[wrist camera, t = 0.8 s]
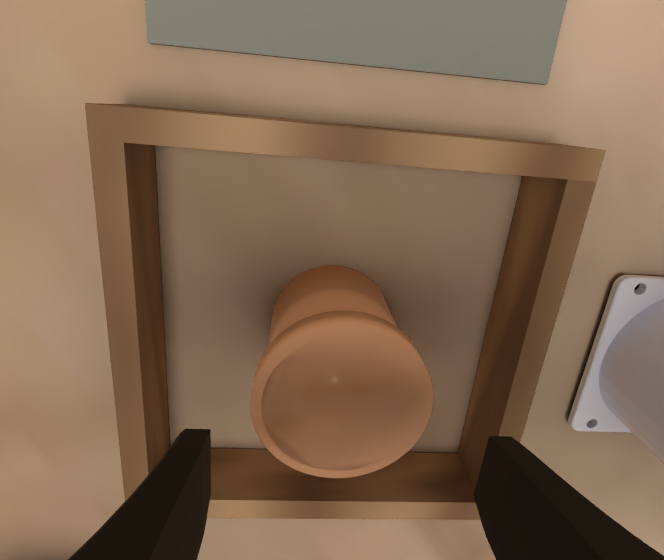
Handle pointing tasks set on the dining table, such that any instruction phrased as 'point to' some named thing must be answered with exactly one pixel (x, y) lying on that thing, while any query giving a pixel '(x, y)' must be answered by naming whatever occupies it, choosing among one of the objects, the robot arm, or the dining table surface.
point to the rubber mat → (374, 32)
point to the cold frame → (345, 145)
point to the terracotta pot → (338, 378)
